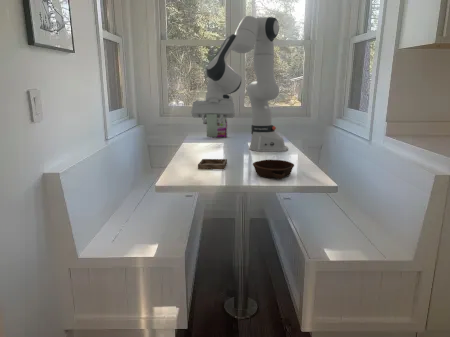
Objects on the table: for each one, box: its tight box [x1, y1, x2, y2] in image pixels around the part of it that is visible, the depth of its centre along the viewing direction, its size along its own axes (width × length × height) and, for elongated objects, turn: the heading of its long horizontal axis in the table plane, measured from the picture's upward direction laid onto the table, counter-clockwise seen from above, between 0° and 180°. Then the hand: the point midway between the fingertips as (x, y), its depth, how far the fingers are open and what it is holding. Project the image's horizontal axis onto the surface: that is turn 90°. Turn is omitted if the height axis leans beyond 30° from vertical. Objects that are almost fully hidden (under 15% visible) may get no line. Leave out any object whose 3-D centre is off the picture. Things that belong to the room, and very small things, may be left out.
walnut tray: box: [197, 158, 228, 170], centre depth 168 cm, size 12×12×2 cm
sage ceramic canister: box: [205, 114, 218, 138], centre depth 164 cm, size 5×5×10 cm
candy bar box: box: [216, 118, 228, 138], centre depth 254 cm, size 11×5×16 cm, turn 80°
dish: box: [252, 159, 295, 180], centre depth 152 cm, size 18×22×5 cm
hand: (211, 123), depth 163 cm, fingers closed on sage ceramic canister, 5 cm apart
